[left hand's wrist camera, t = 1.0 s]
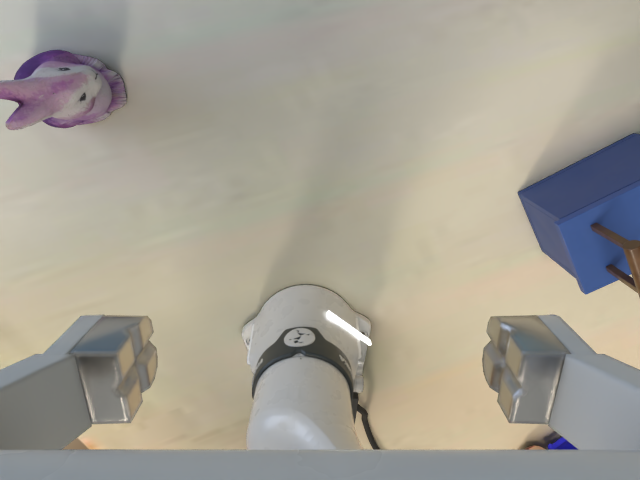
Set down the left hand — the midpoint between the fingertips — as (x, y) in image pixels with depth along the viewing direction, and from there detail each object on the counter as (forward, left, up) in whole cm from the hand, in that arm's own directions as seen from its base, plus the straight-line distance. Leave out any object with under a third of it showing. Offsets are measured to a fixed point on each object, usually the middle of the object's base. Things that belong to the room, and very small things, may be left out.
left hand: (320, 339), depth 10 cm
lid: (-11, -33, -34) cm, 49 cm away
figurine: (+6, +27, -45) cm, 53 cm away
